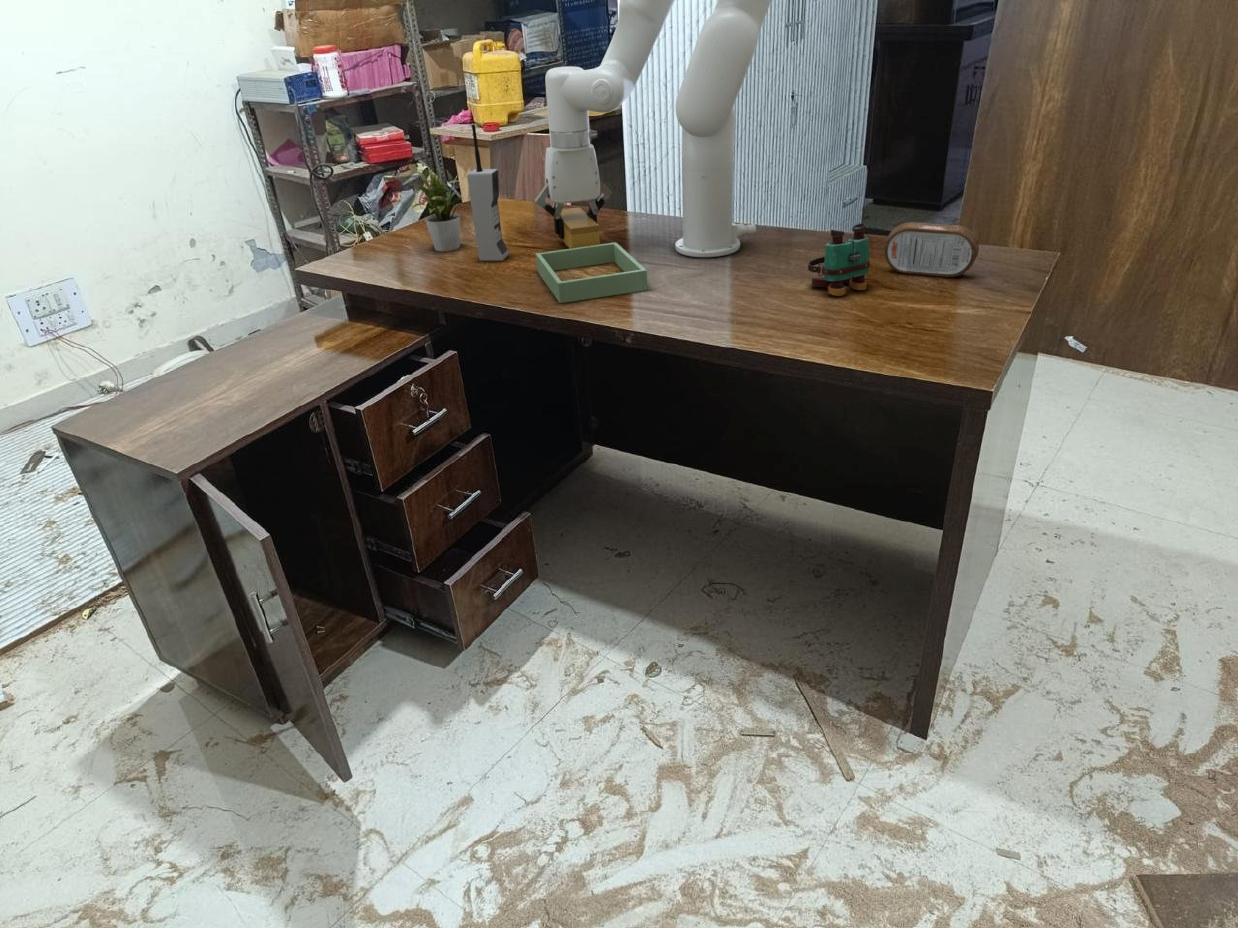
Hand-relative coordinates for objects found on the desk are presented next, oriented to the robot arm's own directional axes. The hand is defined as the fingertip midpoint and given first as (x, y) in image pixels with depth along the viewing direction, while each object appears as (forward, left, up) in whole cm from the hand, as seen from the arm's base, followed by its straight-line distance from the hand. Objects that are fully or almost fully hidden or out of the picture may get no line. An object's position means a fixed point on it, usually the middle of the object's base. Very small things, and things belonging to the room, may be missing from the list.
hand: (576, 234), depth 167 cm
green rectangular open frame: (+3, +20, -3) cm, 21 cm away
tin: (-51, +43, -3) cm, 67 cm away
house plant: (+26, -14, -3) cm, 30 cm away
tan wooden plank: (0, 0, -1) cm, 1 cm away
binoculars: (-34, +42, -3) cm, 54 cm away
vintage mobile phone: (+17, -1, -3) cm, 17 cm away
